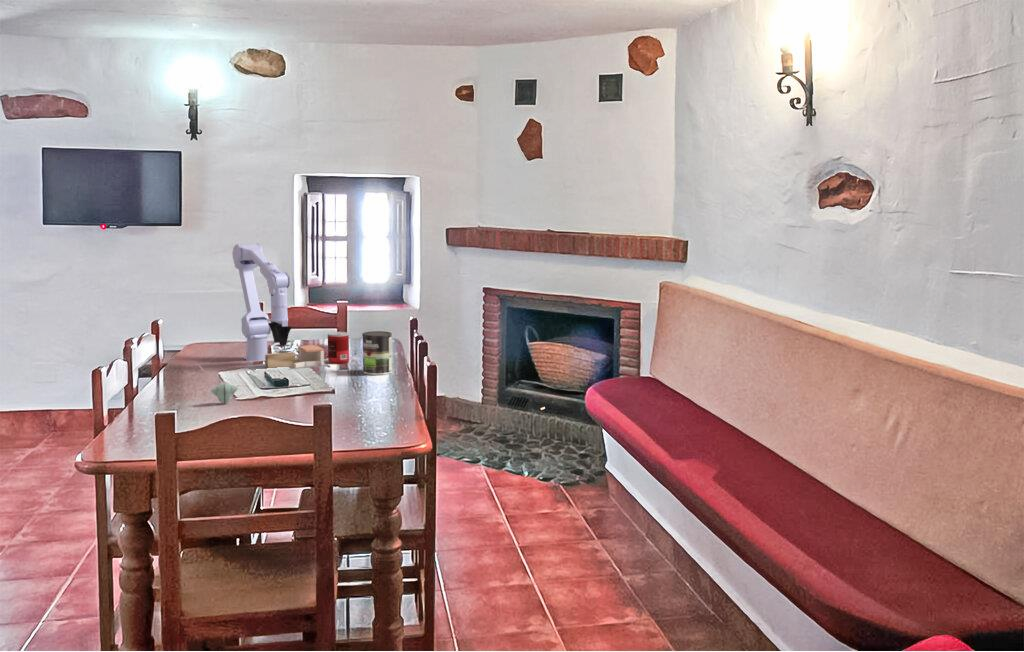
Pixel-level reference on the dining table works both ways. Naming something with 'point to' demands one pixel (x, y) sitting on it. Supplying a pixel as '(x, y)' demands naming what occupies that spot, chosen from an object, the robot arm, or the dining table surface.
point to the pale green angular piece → (224, 391)
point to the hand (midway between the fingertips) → (280, 343)
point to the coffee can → (377, 353)
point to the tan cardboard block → (280, 360)
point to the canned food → (338, 347)
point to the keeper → (303, 358)
